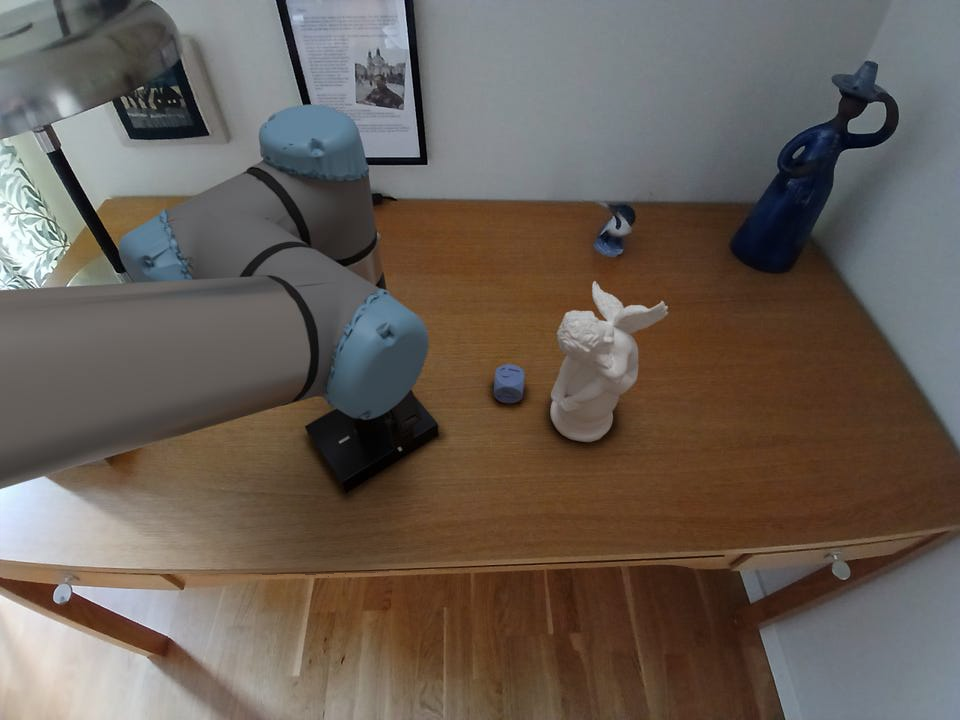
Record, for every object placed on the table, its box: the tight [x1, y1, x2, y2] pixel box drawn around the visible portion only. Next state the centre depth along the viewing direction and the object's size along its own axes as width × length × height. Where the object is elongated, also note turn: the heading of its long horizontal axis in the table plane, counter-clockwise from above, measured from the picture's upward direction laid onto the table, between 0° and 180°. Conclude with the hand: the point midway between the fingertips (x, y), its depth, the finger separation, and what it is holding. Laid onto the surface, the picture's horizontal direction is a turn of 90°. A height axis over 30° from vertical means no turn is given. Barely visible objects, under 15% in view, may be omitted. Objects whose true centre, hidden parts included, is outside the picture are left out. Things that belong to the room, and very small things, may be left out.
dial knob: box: [346, 412, 387, 440], centre depth 69 cm, size 7×2×8 cm, turn 127°
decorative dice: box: [493, 363, 526, 404], centre depth 78 cm, size 4×4×4 cm
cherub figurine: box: [549, 280, 669, 443], centre depth 69 cm, size 12×12×22 cm
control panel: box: [304, 395, 439, 494], centre depth 73 cm, size 14×11×3 cm
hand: (374, 405), depth 70 cm, fingers open, 12 cm apart
